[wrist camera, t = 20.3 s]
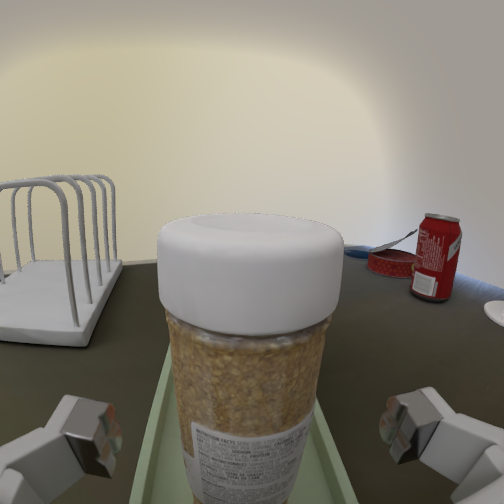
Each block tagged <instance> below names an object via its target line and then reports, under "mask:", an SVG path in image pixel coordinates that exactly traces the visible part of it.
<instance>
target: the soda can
mask: <svg viewBox="0 0 504 504" xmlns="http://www.w3.org/2000/svg"><path fill="white" fill-rule="evenodd" d="M459 221H460V220H459V219H457V218H454V217H449V216H444V215H438V214H430V213H426V214H425V219H424V220H423V222H422V223H421V224H420V226H419V234H418V242H417V249H416V255H415V262H414V268H413V273H412V279H411V284H410V290H411V291H412V292H413V293H414V294H415V295H416V296H417V297H418V298H420V299H423V300H426V301H430V302H441V301H443V300H446V299H448V298H450V296H451V291H452V287H453V282H454V278H455V273H456V268H457V262H458V256H459V251H460V244H461V237H462V231H461V228H460V226H459Z"/></svg>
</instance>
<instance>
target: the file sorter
mask: <svg viewBox="0 0 504 504" xmlns="http://www.w3.org/2000/svg"><path fill="white" fill-rule="evenodd" d="M99 178H101V179H104V180H106V181H107V182H108V183H109V184H110V186H111V192H112V239H113V255H114V260H110V259H109V245H108V229H107V201H106V200H107V199H106V189H105V186H104V184H103V182H102V181H101V180H100V179H99ZM75 180H81V181H83V182H84V183H86V184H87V185H88V187H89V189H90V192H91V198H92V220H93V235H94V249H95V258H96V260H87V253H86V240H85V226H84V210H83V209H84V207H83V195H82V191H81V188H80V186H79V185H78V184H77V182H76V181H75ZM90 180H94V181H95V182H97V183H98V184H99V185H100V187H101V189H102V201H103V227H104V243H105V257H106V260H100V255H99V243H98V227H97V209H96V208H97V207H96V192H95V188H94V186H93V184H92V182H91V181H90ZM62 181H65V182H67V183H69V184H70V185H72V186H73V188H74V189H75V191H76V194H77V200H78V218H79V230H80V242H81V254H82V260H71V256H70V244H69V228H68V207H67V200H66V197H65V195H64V193H63V191H62V189H61V188H60V187H59V186H58V185H57V184H56V183H54V182H62ZM29 186H30V188H29V191H28V221H29V236H30V246H31V256H32V261H30V262H29V263H27V264H26V265H24V266H23V267H21V264H20V257H19V250H18V241H17V232H16V218H15V195H16V192H17V191H18V190H19V189H20V188H21V187H29ZM34 186H46V187H48V188H50V189H52V190H53V191H54V192H55V193H56V194H57V196H58V198H59V200H60V204H61V215H62V234H63V246H64V258H65V260H35V254H34V244H33V233H32V219H31V192H32V189H33V187H34ZM7 188H15V189H14V191H13V193H12V197H11V214H12V227H13V237H14V245H15V254H16V261H17V267H18V270H17V271H16V272H14V273H13V274H11V275H10V276H8V277H7V278H6V279H4V273H3V268H2V261H1V255H0V278H1V282H0V340H4V341H13V342H23V343H34V344H47V345H62V346H80V347H85V346H87V345H88V342H89V340H90V337H91V335H92V332H93V330H94V328H95V325H96V323H97V321H98V319H99V316H100V314H101V312H102V310H103V308H104V305H105V303H106V301H107V299H108V297H109V295H110V293H111V291H112V289H113V287H114V285H115V283H116V281H117V279H118V277H119V275H120V273H121V271H122V260H117V249H116V222H115V221H116V220H115V186H114V184H113V182H112V180H111V179H110V178H108V177H107V176H105V175H84V176H82V175H52V176H43V177H35V178H27V179H20V180H13V181H7V182H1V183H0V191H2V190H3V189H7Z"/></svg>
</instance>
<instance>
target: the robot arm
mask: <svg viewBox="0 0 504 504" xmlns="http://www.w3.org/2000/svg"><path fill="white" fill-rule="evenodd" d="M386 407H387V409H388V410H387V411H386V412H385V413H384V414H383V415H382V416H381V419H380V422H379V432H380V436H381V438H382V440H383V442H385V443H387V444H389V445H390V449H389V452H390V454H391V456H392V458H393V459H394V461H395V463H396V465H399V464H403V463H406V462H410V461H413V460H416V459H419V460H420V461H421V462H423V463H424V464H426V465H427V466H429V467H431V468H432V469H434V470H435V471H437V472H439V473H440V474H442V475H443V476H445V477H447V478H448V479H450V480H452V481H453V482H455V483H457V484H458V486H457V487H456V489H455V490H454V491H453V492H452V493H451V496H450V499H451V500H452V502H453V504H504V429H501V428H498V427H496V426H493V425H490V424H487V423H485V422H482V421H479V420H476V419H474V418H471V417H469V416H466V415H463V414H461V413H458V414H456V413H455V412H454V411H453V410H452V409H451V407H450V406H449V405H448V404H447V403H446V402H445V401H444V399H443V398H442V397H441V396H440V395H439V394H438V393H437V391H436V390H435V389H434V388H432V387H430V386H429V387H425V388H421V389H417V390H414V391H409V392H405V393H401V394H396V395H392V396H390V397H389V399H388V400H387V403H386ZM115 415H116V410H115V407H114V405H113V404H112V403H108V402H102V401H97V400H92V399H87V398H82V397H76V396H72V395H68V394H67V395H65V396H64V397H63V398H62V400H61V401H60V403H59V405H58V406H57V408H56V409H55V411H54V413H53V414H52V416H51V418H50V419H49V421H48V423H47V424H46V426H45V428H41V427H40V428H38V429H36V430H34V431H32V432H30V433H28V434H26V435H24V436H22V437H20V438H18V439H16V440H14V441H11V442H9V443H7V444H5V445H3V446H1V447H0V504H50V503H51V502H52V501H54V500H55V499H56V498H58V497H59V496H60V495H61V494H63V493H64V492H65V491H66V490H68V489H69V488H70V487H71V486H72V485H74V484H75V483H76V482H77V481H79V480H80V479H81V478H82V477H83V476H85V473H86V474H91V475H96V476H101V477H106V478H111V479H112V475H113V472H114V469H115V465H116V460H115V458H114V455H115V454H117V453H118V452H120V449H121V445H122V429H121V426H120V423H119V422H118V421H117V420H116V419H115Z"/></svg>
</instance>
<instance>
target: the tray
mask: <svg viewBox="0 0 504 504" xmlns="http://www.w3.org/2000/svg"><path fill="white" fill-rule="evenodd" d="M170 347H171V343H170V345H169V348H168V352H167V355H166V358H165V362H164V365H163V369H162V372H161V376H160V379H159V383H158V387H157V390H156V394H155V398H154V401H153V405H152V409H151V413H150V416H149V420H148V424H147V428H146V432H145V436H144V440H143V444H142V448H141V452H140V456H139V461H138V465H137V469H136V474H135V478H134V483H133V487H132V492H131V496H130V501H129V504H193V501H194V500H193V494H192V490H191V488H190V486H189V483H188V479H187V474H186V470H185V465H184V459H183V453H182V448H181V442H180V433H181V431H180V426H179V419H178V412H177V403H176V396H175V388H174V380H173V371H172V358H171V349H170ZM287 504H359V503H358V501H357V498H356V496H355V493H354V491H353V488H352V486H351V483H350V481H349V478H348V476H347V473H346V470H345V468H344V465H343V463H342V460H341V458H340V455H339V453H338V450H337V448H336V445H335V443H334V440H333V438H332V435H331V433H330V430H329V428H328V425H327V423H326V420H325V418H324V415H323V413H322V410H321V408H320V405H319V403H318V400H317V398H316V404H315V408H314V413H313V417H312V421H311V425H310V429H309V433H308V437H307V441H306V445H305V448H304V452H303V456H302V459H301V463H300V467H299V470H298V474H297V477H296V481H295V484H294V487H293V490H292V492H291V493H290V495H289V497H288V501H287Z"/></svg>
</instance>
